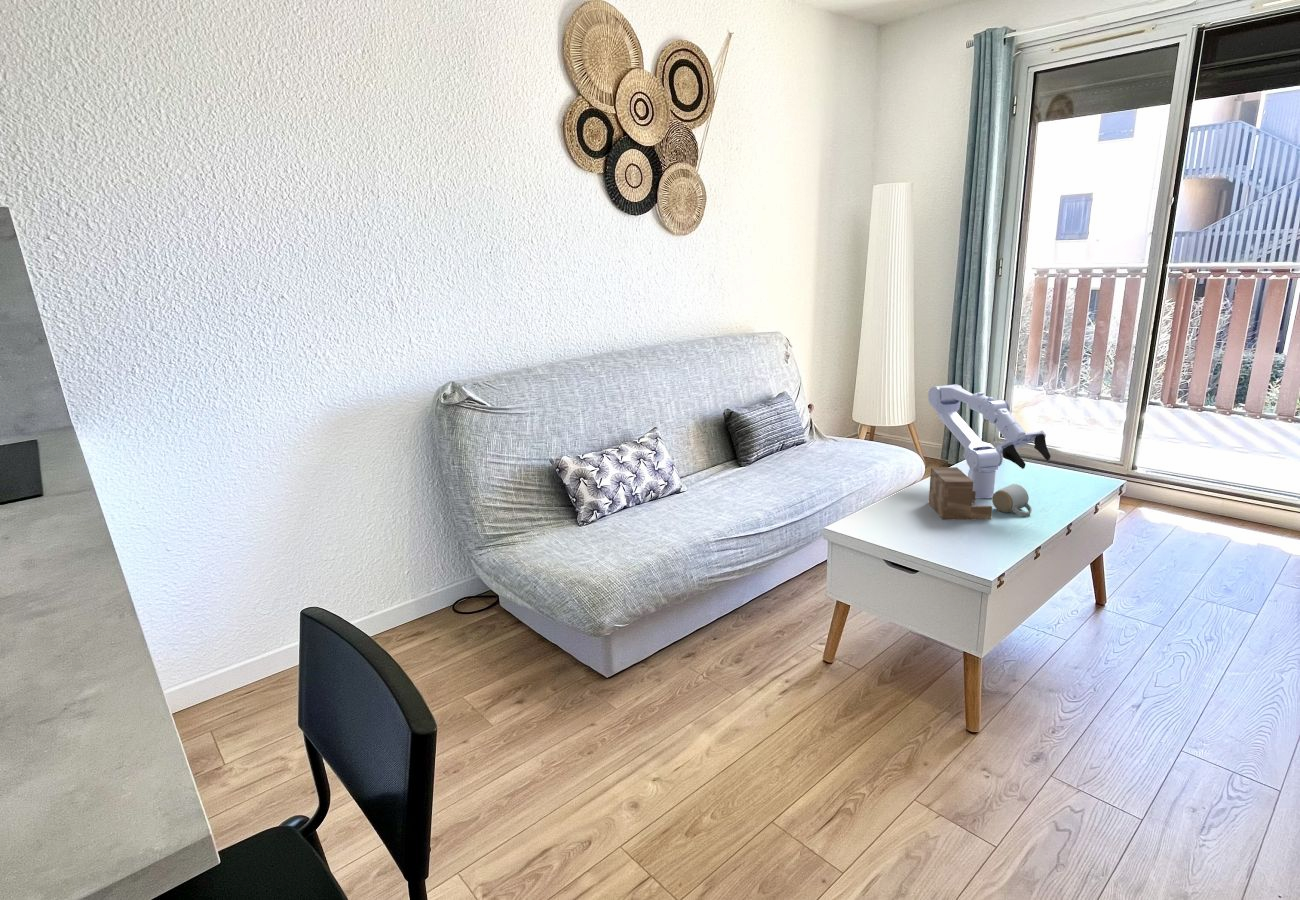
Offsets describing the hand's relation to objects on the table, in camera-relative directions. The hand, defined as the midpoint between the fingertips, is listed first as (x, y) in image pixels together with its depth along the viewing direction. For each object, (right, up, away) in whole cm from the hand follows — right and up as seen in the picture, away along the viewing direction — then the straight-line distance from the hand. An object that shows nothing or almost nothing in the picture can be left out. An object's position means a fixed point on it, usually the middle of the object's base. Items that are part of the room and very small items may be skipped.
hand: (1036, 462), depth 207 cm
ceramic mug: (-2, -15, +10) cm, 18 cm away
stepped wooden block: (-18, -15, +12) cm, 26 cm away
